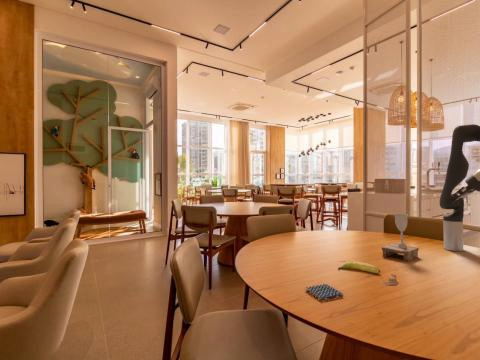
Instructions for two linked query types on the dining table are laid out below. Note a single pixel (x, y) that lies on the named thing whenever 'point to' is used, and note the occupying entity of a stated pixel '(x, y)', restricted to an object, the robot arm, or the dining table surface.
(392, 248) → the square lamp base
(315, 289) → the blue patterned piece
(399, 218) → the chalice
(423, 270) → the dining table surface
